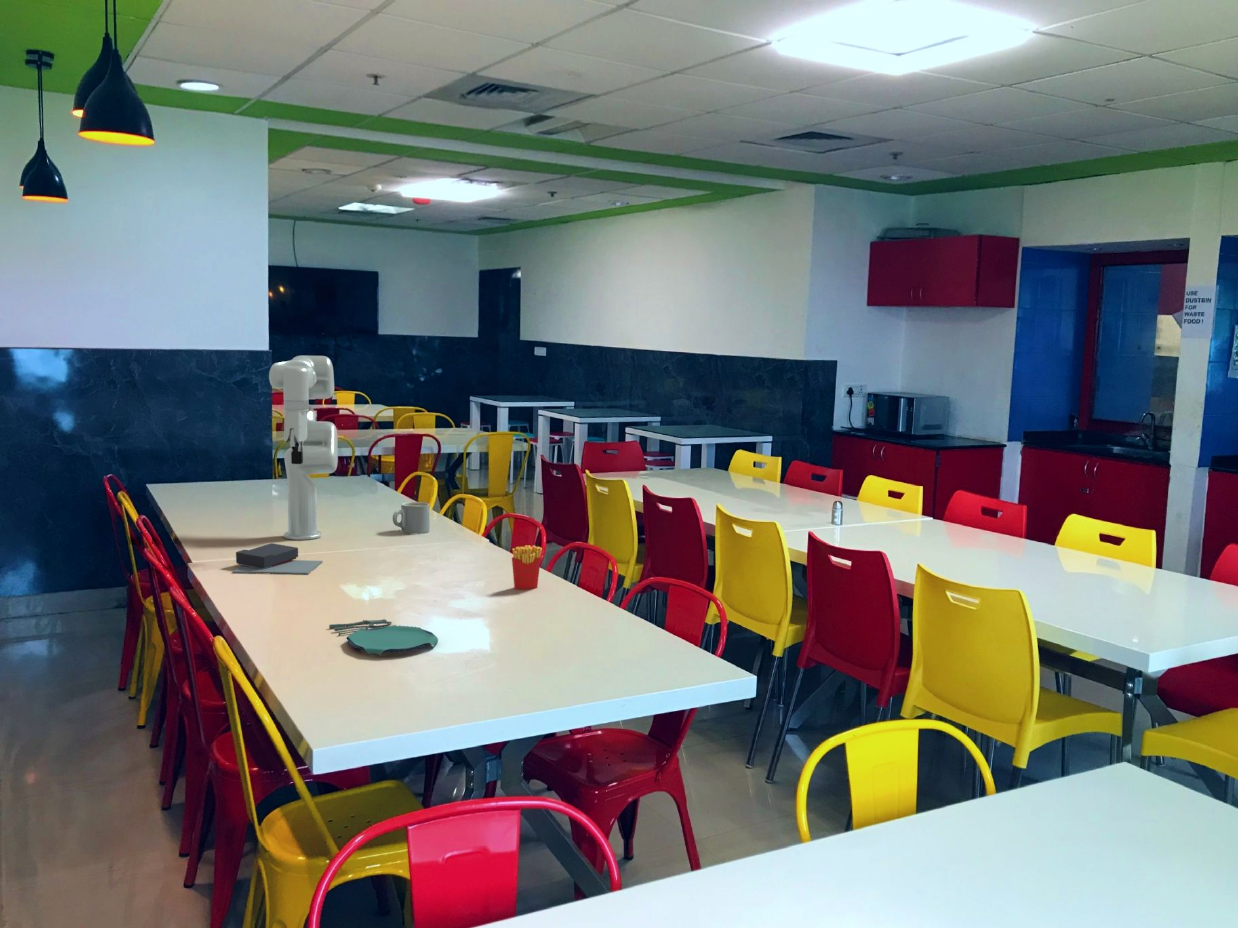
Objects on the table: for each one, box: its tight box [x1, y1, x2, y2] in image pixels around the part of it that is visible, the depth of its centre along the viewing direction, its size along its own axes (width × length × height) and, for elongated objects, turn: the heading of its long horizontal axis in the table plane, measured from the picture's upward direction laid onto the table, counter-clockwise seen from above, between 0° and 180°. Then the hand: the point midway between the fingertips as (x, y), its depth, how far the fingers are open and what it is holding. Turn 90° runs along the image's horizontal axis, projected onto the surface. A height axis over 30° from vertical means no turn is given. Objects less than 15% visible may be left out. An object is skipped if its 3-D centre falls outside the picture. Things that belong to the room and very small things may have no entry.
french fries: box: [511, 544, 543, 591], centre depth 288 cm, size 8×4×12 cm, turn 111°
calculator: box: [235, 543, 299, 569], centre depth 309 cm, size 11×4×15 cm
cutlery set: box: [328, 618, 439, 655], centre depth 238 cm, size 20×30×2 cm, turn 35°
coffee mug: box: [392, 501, 430, 534], centre depth 364 cm, size 13×10×10 cm
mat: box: [232, 559, 323, 575], centre depth 305 cm, size 16×22×1 cm
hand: (297, 463), depth 322 cm, fingers closed
